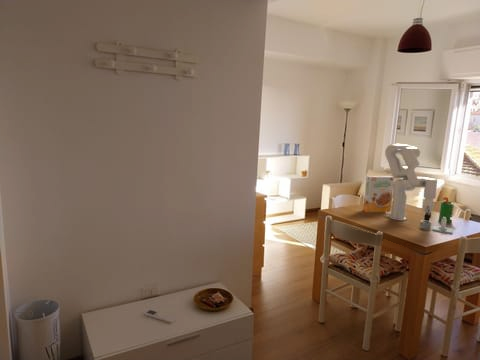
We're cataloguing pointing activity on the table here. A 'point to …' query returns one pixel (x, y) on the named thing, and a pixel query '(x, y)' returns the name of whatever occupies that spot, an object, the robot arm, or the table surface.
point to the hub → (425, 224)
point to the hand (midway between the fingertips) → (427, 219)
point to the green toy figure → (446, 210)
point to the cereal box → (378, 193)
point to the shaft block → (443, 227)
